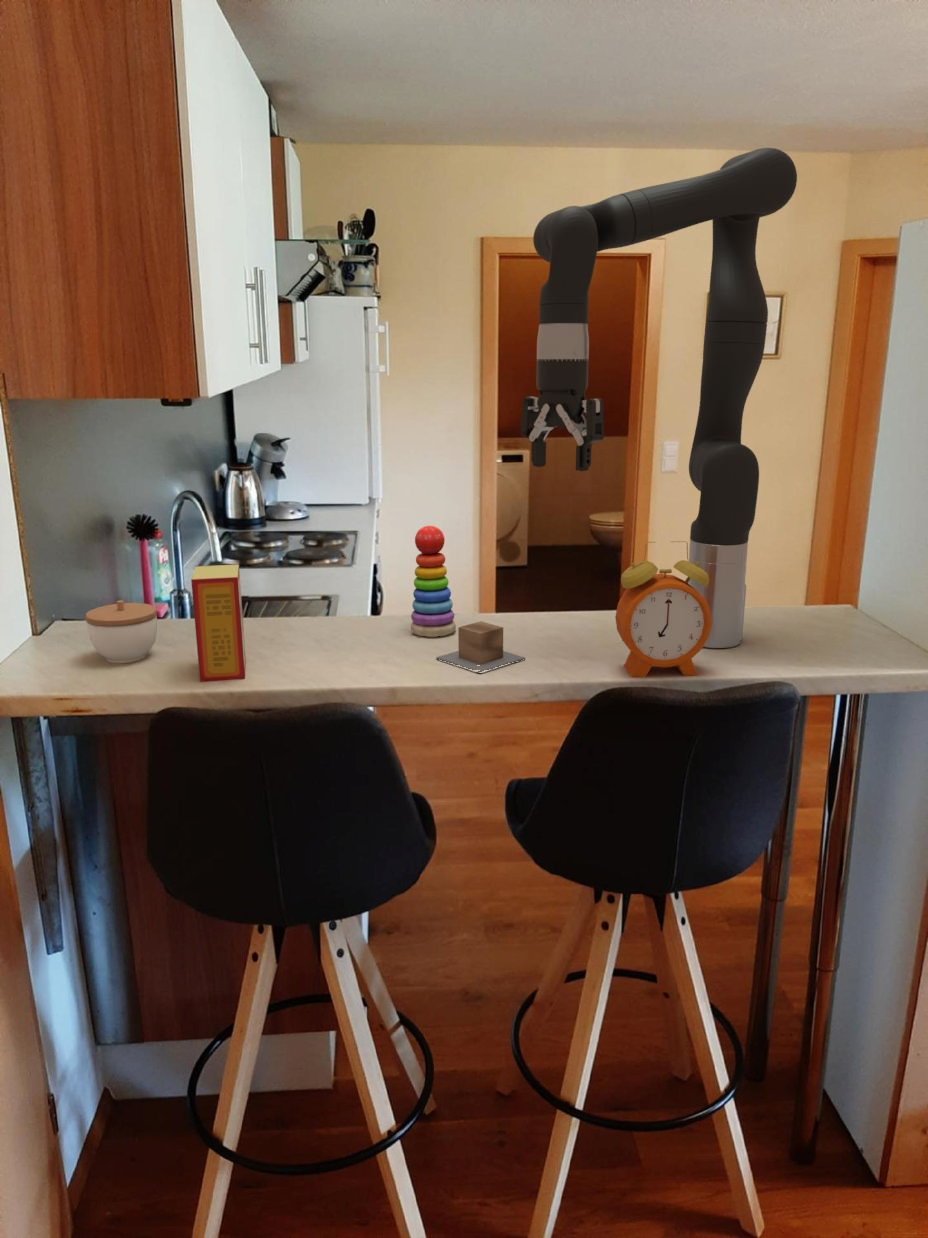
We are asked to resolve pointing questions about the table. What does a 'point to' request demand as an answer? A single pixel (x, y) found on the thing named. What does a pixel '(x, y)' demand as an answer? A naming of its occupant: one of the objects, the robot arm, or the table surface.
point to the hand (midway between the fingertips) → (560, 468)
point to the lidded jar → (123, 630)
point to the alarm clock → (662, 617)
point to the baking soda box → (219, 622)
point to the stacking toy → (431, 587)
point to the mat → (456, 660)
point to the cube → (480, 642)
